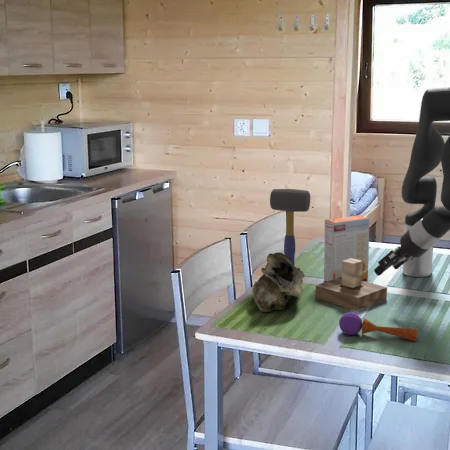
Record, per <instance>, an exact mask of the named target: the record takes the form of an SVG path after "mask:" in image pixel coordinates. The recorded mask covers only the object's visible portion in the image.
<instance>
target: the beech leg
mask: <svg viewBox="0 0 450 450" xmlns="http://www.w3.org/2000/svg"><path fill="white" fill-rule="evenodd" d="M362 281H363V280H362V261H361V260H356V259H352V258H350V259H347V260H344V261H342V285H341V286H342V287H343V288H346V289H349V290H356V289H359V287H361V286H362V285H361V283H362Z"/></svg>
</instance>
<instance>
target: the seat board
mask: <svg viewBox="0 0 450 450" xmlns="http://www.w3.org/2000/svg"><path fill="white" fill-rule="evenodd" d="M341 285H342V277H340V278H337V279H334V280H331V281H328V282H326V281H324V282H321V283H319V284H315V298H316V299H317V300H321V301H324V302H328V303H331V304H334V305H337V306H340V307H344V308H347V309H350V310H353V311H357V312H358V311H362V310H364V309H367V308H369V307H372V306H375V305H377V304H380V303H383V302H385V301H387V296H388V287H387V286H384V285H380V284H376V283H372V282H368V281H366V280H365V281H364V280H362V283H361V285H362V286H361V287H359V289H356V290H349V289H346V288H343V287H342V286H341Z"/></svg>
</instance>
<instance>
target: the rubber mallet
mask: <svg viewBox="0 0 450 450" xmlns="http://www.w3.org/2000/svg"><path fill="white" fill-rule="evenodd" d="M269 195H270V196H269V205H270V208H271V209H272V210H274V211H279V212H281V211H282V212H286V215H285V216H286V218H285V236H284V242H283V243H284V244H283V254H284V255H285V256H287V257H288V258H290V259H291V262H292V265H294V266H295V255H296V237H295V232H294V231H295V221H294V219H295V216H294V215H295V213H294V212H299V213H301V212H302V213H304V212H308V211H309V210H310V206H311V193H310V191H308V190H306V189H305V190H303V189H297V188H274V189H272V190H271V192H270V194H269ZM287 266H289V265H287Z"/></svg>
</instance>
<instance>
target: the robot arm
mask: <svg viewBox="0 0 450 450" xmlns="http://www.w3.org/2000/svg"><path fill="white" fill-rule="evenodd" d="M421 98H422V99H421V103H420V110H419V111H420V112H419V118H418V124H417V125H418V126H417V130H416V133H415V138H414V141H413V144H412V148H411V154H410V157H409V158H410V159H409V164H408V167H407V170H406V173H405V176H404V179H403V181H402V186H401V198H402V200H403V202H404V203H405V204H409V205H410V204H411V205H423V206H422V207H421V208H419V209H417V210H415V211H413V212H410V213H407V214H406V215H405V218H404V234H403V235H401V237H400V241H399V243H400V246H397V247H396V248H395V249H394V250H392V249H391V250H390V251H389V252H387V254H386V255H384V256H383V257H382V258H381V259H380V260H378V262H377V263H378V265H377V266H376V267H375V268H374V270H373V271H374V273H375V274H376V276H377V277H378V276H381V275H382V274H383V273H384V272H386V270H388V269H389V268H391V267H392V268H393V269H394V270H398V269H400V268H401V267H402V274H403V275H405V276H408V277H413V278H425V277H429V276H431V273H432V271H433V257H434V255H433V254H434V246H435V245H436V244H437V243H438V242H439V240H440V239H441V238H443V237H444V236H445V235H446V233H448V232H449V231H450V135H449V136H448V137H447V139H446V141H445V140H444V138H443V136H442V134H441V133H440V132H439V130H438V129H437V128H436V127H435V125H434V124H433V123H434V122H450V87H432V88H428V89H426V90H425V91H424V93H423V95H422V97H421ZM440 164H441V169H442V170H441V171H442V174H443V178H442V183H441V184H442V185H441V193H440V202H441V204H442V205H443V206H436V199H437V191H438V184H437V183H438V182H437V180H436V178H435V176H430V175H428V174H429V173H431V172H432V171H434V170H435V169H436V168H437V167H438V166H439V165H440Z"/></svg>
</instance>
